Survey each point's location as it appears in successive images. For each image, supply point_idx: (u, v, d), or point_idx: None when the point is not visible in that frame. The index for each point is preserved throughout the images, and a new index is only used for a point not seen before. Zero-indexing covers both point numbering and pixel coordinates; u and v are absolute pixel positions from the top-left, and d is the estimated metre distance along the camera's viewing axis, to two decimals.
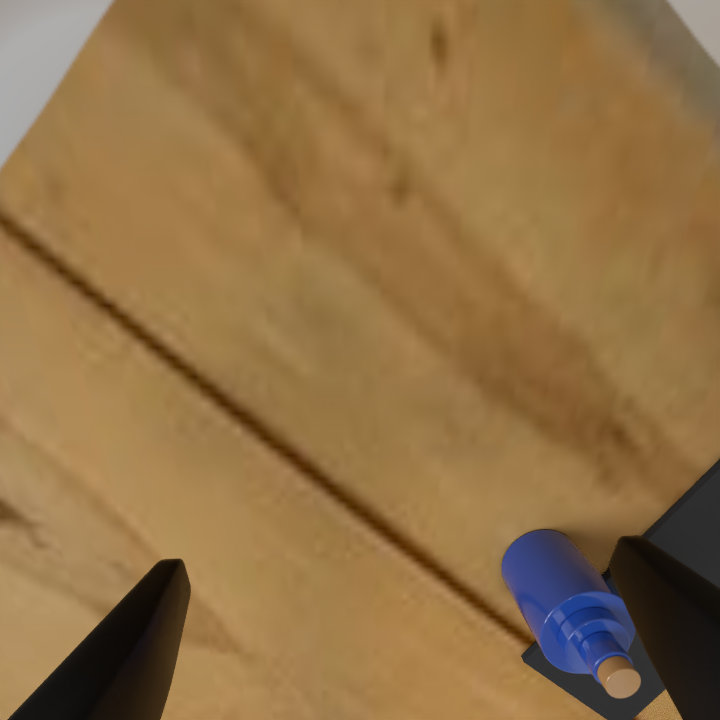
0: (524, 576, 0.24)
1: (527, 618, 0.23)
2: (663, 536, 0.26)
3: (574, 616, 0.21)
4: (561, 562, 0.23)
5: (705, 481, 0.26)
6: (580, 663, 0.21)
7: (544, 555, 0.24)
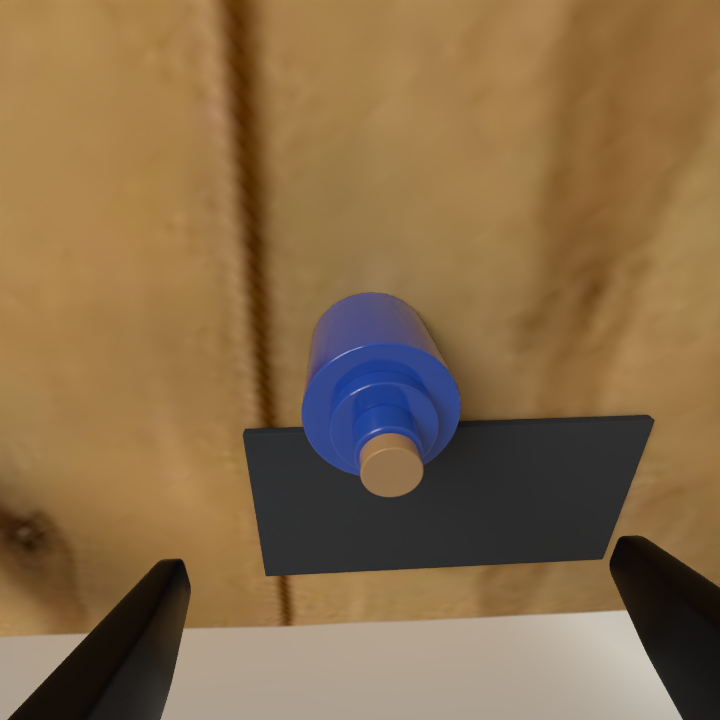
0: (361, 313, 0.15)
1: (321, 349, 0.14)
2: (503, 436, 0.20)
3: (396, 374, 0.12)
4: (423, 332, 0.14)
5: (591, 420, 0.20)
6: (344, 431, 0.12)
7: (406, 315, 0.15)
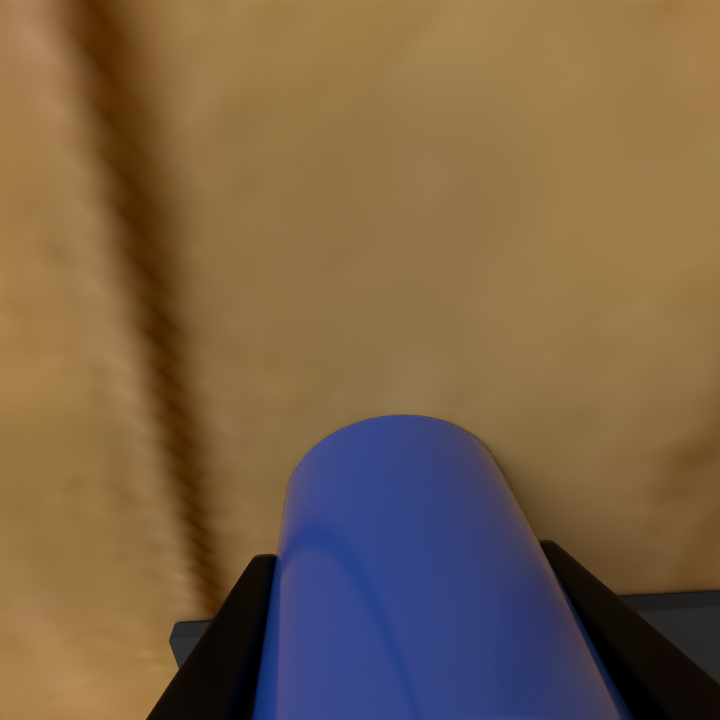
0: (387, 503, 0.06)
1: (293, 626, 0.05)
2: None
3: None
4: (532, 553, 0.06)
5: None
6: None
7: (485, 496, 0.07)
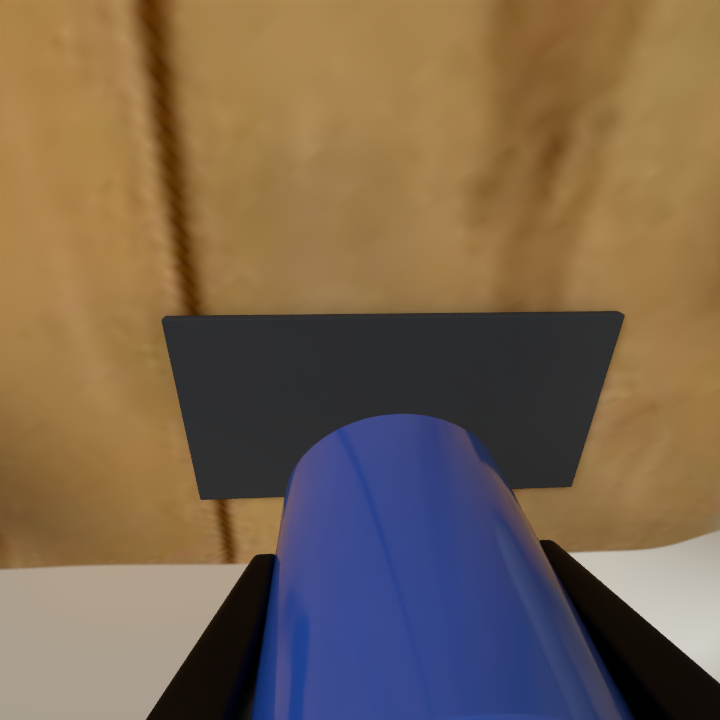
0: (387, 501, 0.06)
1: (292, 625, 0.05)
2: (457, 329, 0.18)
3: None
4: (531, 551, 0.06)
5: (555, 314, 0.18)
6: None
7: (484, 494, 0.07)
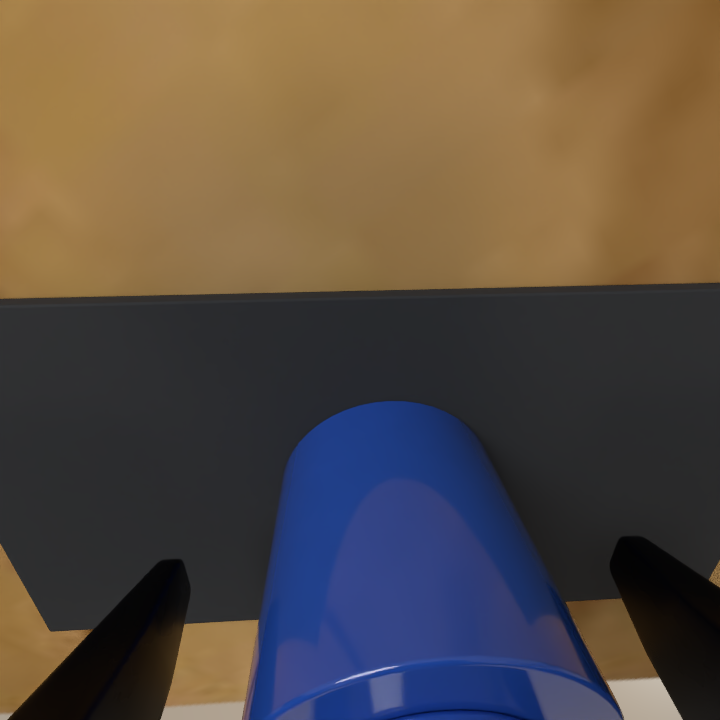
0: (377, 478, 0.07)
1: (288, 588, 0.06)
2: (519, 322, 0.08)
3: None
4: (511, 524, 0.07)
5: None
6: None
7: (469, 474, 0.07)
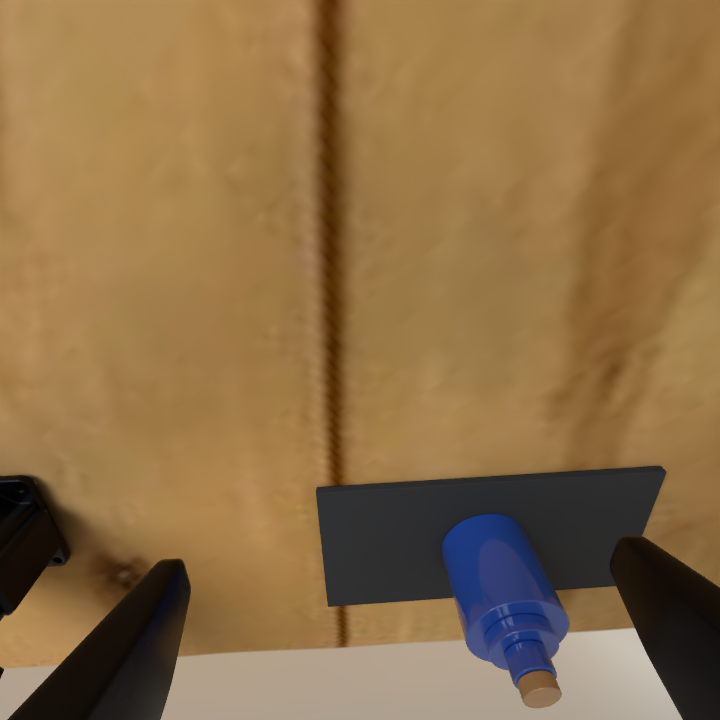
0: (493, 550, 0.22)
1: (473, 585, 0.21)
2: (537, 487, 0.23)
3: (532, 617, 0.19)
4: (536, 564, 0.21)
5: (612, 473, 0.23)
6: (499, 653, 0.19)
7: (522, 546, 0.22)
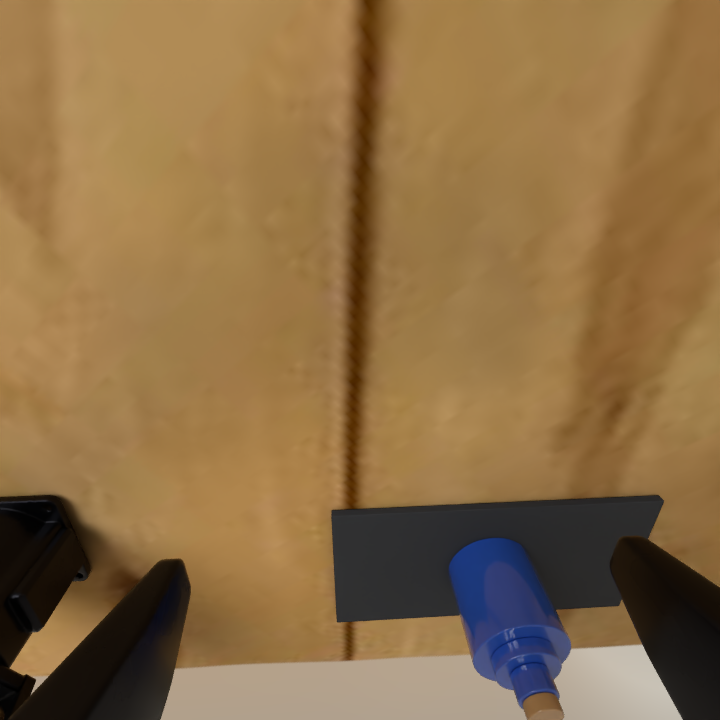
0: (500, 574, 0.23)
1: (481, 608, 0.22)
2: (541, 514, 0.24)
3: (537, 640, 0.20)
4: (540, 588, 0.23)
5: (613, 501, 0.24)
6: (505, 674, 0.20)
7: (526, 570, 0.23)
